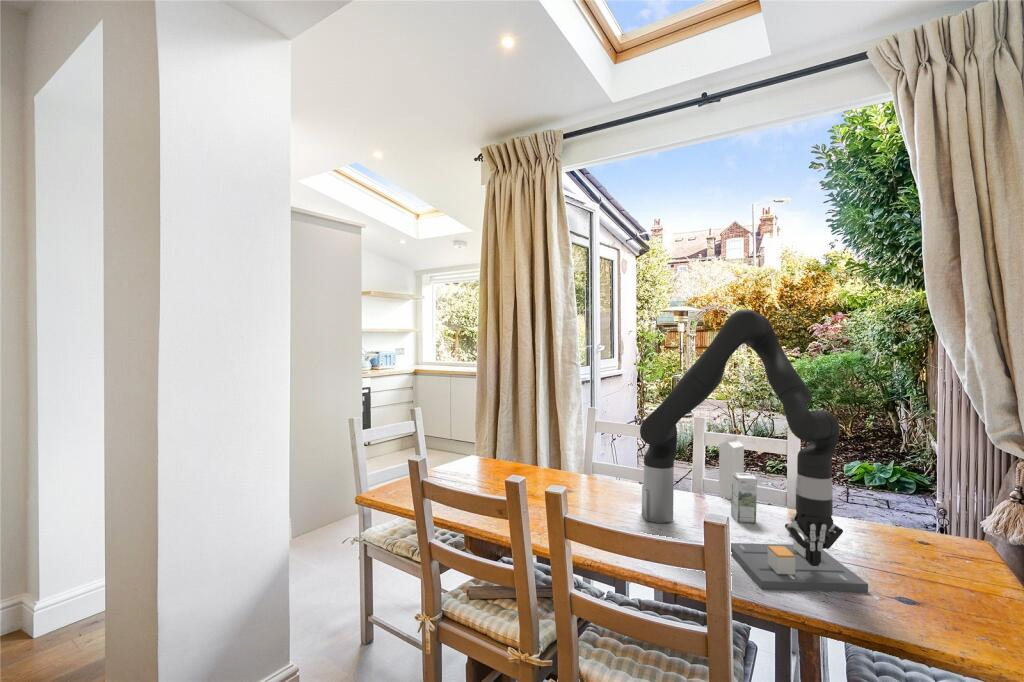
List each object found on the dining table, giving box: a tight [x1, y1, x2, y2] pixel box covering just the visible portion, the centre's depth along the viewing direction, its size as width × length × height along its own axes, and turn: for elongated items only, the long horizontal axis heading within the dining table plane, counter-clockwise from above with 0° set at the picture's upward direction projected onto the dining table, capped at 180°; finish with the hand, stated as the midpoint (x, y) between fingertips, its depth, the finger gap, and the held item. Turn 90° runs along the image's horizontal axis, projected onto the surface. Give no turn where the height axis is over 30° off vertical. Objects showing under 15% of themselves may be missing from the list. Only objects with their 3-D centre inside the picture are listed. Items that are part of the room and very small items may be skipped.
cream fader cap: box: [792, 532, 806, 557], centre depth 124 cm, size 4×5×4 cm
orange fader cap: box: [768, 546, 795, 574], centre depth 116 cm, size 4×5×4 cm
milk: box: [718, 435, 745, 501], centre depth 173 cm, size 6×6×22 cm
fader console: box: [730, 542, 869, 593], centre depth 120 cm, size 24×20×2 cm
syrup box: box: [730, 472, 758, 524], centre depth 152 cm, size 6×6×14 cm
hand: (813, 564), depth 115 cm, fingers closed
